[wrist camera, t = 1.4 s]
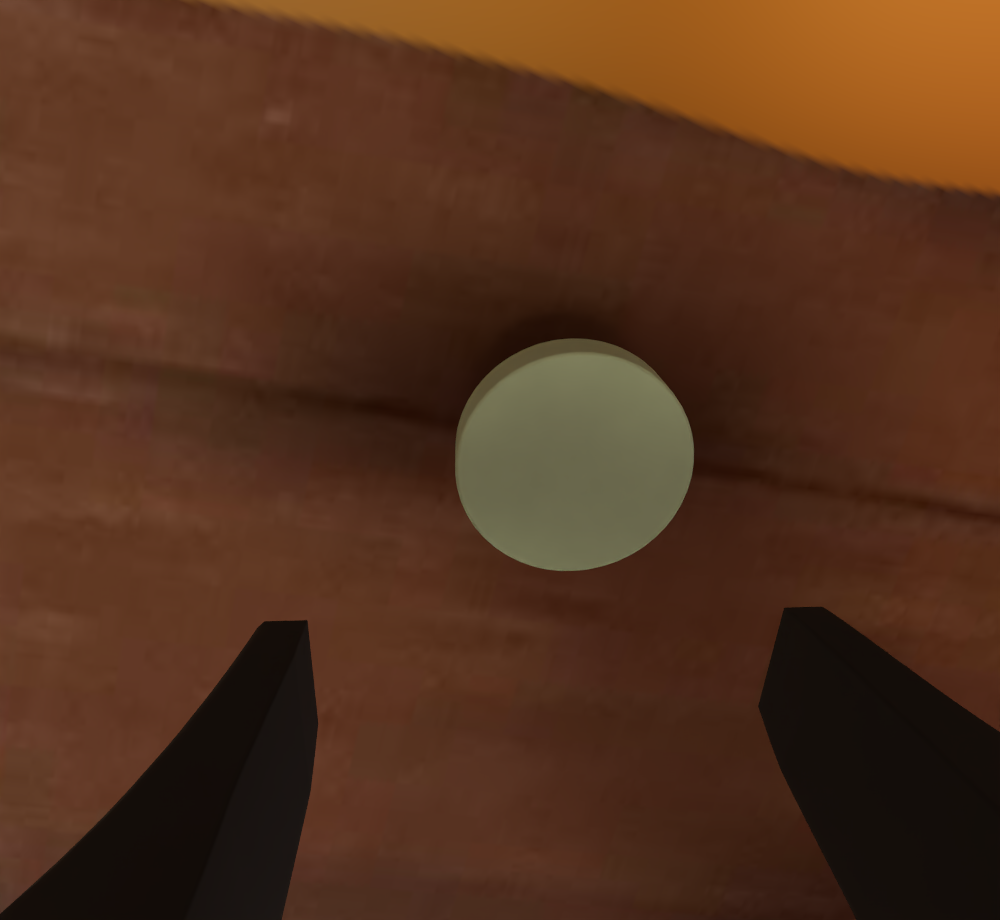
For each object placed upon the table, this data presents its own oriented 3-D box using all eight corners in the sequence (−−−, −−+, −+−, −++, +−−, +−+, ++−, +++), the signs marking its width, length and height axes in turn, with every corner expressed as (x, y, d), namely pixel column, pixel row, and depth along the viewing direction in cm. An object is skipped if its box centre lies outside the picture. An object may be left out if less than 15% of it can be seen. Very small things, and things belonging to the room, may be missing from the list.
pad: (667, 318, 19) (718, 362, 15) (633, 500, 21) (670, 578, 17) (463, 300, 19) (465, 341, 15) (448, 489, 21) (446, 566, 17)
